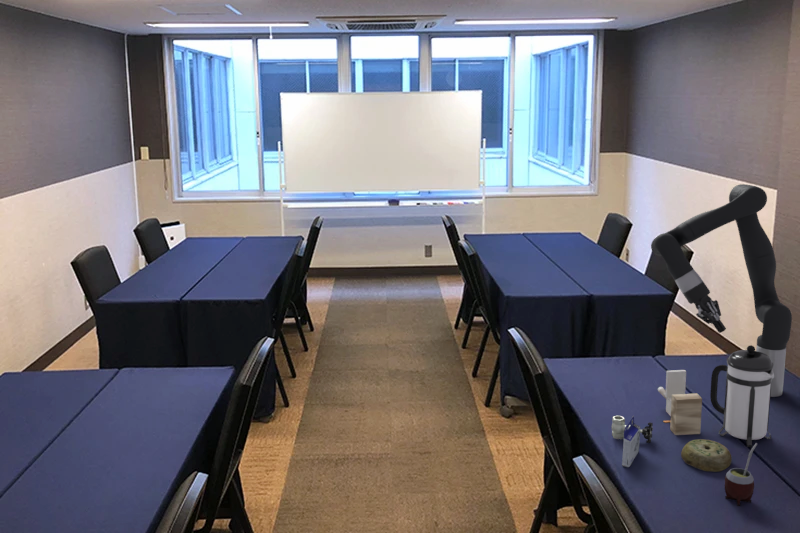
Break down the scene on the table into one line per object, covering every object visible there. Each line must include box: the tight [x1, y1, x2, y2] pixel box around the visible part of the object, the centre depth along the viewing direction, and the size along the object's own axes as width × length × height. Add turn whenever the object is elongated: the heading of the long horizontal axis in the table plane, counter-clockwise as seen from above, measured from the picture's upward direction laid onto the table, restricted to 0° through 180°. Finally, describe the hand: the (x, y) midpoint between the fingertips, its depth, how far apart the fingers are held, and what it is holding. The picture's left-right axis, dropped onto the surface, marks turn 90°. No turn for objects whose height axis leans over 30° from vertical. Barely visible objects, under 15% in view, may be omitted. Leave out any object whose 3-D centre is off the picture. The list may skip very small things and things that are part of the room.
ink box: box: [621, 415, 641, 468], centre depth 215 cm, size 12×2×12 cm, turn 148°
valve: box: [610, 415, 654, 444], centre depth 228 cm, size 7×7×12 cm
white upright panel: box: [665, 369, 687, 417], centre depth 236 cm, size 4×6×14 cm, turn 92°
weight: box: [680, 438, 733, 473], centre depth 213 cm, size 14×13×5 cm
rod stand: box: [657, 386, 703, 436], centre depth 239 cm, size 23×8×12 cm, turn 2°
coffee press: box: [709, 345, 774, 448], centre depth 224 cm, size 17×16×30 cm
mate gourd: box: [724, 442, 758, 507], centre depth 191 cm, size 8×8×15 cm
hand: (722, 331), depth 238 cm, fingers closed
